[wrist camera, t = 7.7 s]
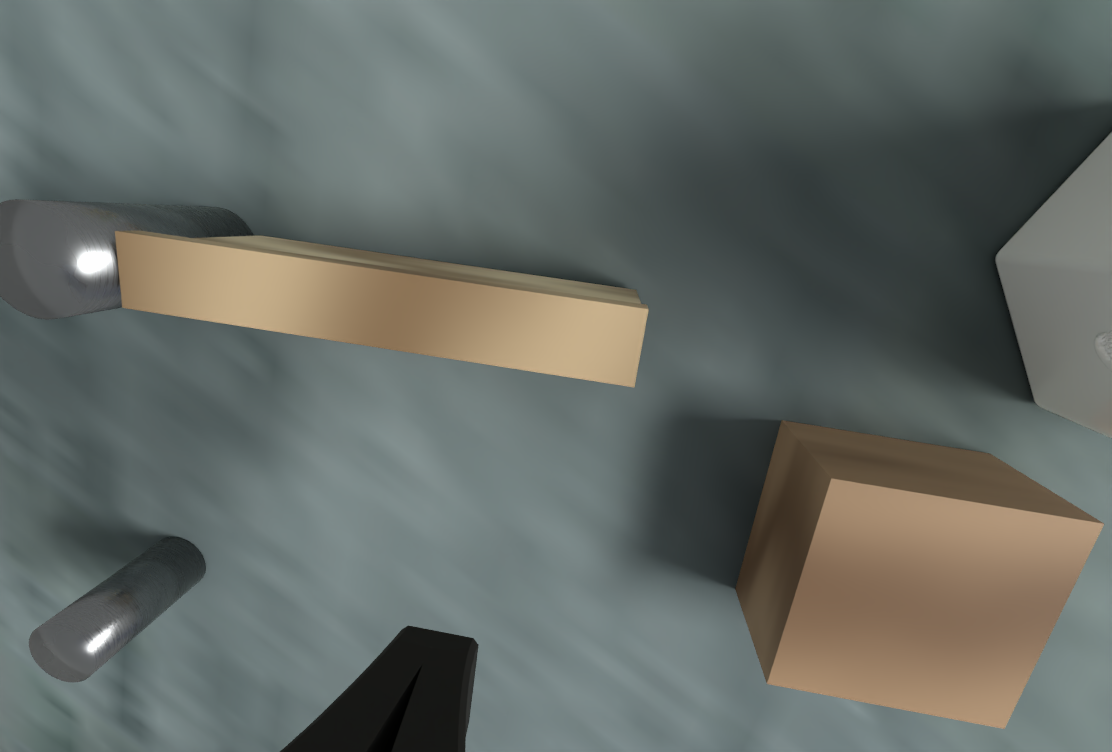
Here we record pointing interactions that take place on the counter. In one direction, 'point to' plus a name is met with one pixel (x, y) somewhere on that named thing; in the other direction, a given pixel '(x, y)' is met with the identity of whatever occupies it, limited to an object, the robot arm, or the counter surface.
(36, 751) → the counter surface
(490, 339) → the gate
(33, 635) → the post
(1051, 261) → the jar
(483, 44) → the counter surface
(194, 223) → the hinge post
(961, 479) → the block
